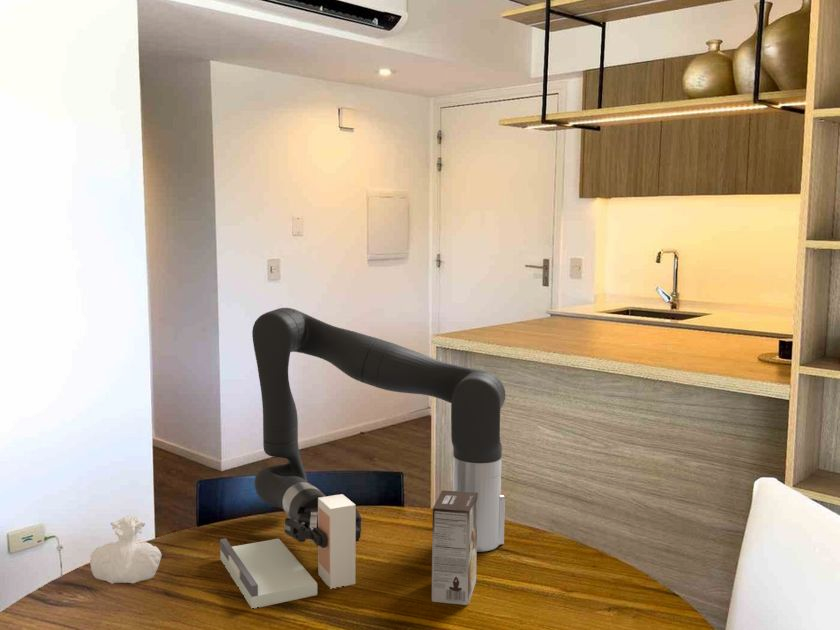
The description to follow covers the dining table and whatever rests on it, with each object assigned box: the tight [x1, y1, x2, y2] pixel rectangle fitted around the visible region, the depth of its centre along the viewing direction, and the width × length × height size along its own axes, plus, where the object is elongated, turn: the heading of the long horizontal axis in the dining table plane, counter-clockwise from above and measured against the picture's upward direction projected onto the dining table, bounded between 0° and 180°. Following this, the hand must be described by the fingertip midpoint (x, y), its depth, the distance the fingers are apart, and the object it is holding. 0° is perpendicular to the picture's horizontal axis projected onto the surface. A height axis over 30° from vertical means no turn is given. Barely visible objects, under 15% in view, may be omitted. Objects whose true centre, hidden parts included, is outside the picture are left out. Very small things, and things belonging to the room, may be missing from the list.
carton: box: [317, 493, 357, 590], centre depth 136 cm, size 4×6×14 cm
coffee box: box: [431, 490, 478, 606], centre depth 131 cm, size 9×6×16 cm
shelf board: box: [219, 538, 318, 609], centre depth 137 cm, size 11×21×4 cm, turn 27°
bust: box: [89, 514, 162, 584], centre depth 137 cm, size 12×8×11 cm
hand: (341, 539), depth 134 cm, fingers open, 5 cm apart
